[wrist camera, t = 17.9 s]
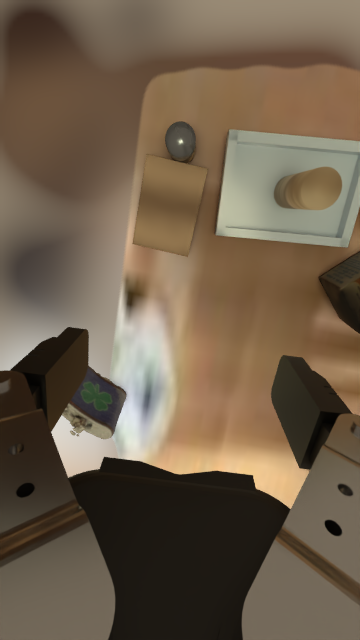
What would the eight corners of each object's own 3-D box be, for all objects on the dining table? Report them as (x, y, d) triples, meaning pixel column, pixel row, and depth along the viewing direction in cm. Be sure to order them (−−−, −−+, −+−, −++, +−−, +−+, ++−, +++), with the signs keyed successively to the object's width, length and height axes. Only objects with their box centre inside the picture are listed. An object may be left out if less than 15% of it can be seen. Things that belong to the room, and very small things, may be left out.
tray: (338, 245, 38) (347, 247, 35) (214, 233, 38) (216, 235, 35) (365, 147, 33) (378, 143, 31) (227, 134, 34) (229, 129, 31)
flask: (129, 393, 47) (112, 443, 37) (119, 404, 48) (100, 456, 38) (82, 360, 45) (50, 403, 35) (72, 372, 46) (38, 418, 36)
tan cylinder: (300, 210, 35) (335, 212, 27) (270, 206, 35) (296, 208, 27) (308, 177, 34) (347, 168, 26) (277, 173, 34) (307, 164, 25)
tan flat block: (188, 253, 39) (187, 256, 36) (136, 241, 39) (132, 243, 36) (206, 171, 35) (207, 168, 33) (150, 158, 35) (146, 153, 32)
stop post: (193, 165, 35) (193, 158, 29) (168, 163, 35) (164, 155, 29) (196, 136, 34) (197, 123, 28) (170, 134, 34) (166, 120, 28)
